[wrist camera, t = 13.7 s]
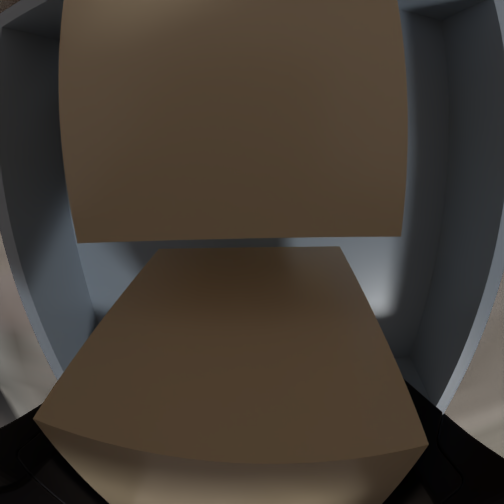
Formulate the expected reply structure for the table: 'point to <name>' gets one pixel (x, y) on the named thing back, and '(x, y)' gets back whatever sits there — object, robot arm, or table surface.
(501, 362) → the table surface
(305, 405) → the stone
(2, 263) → the table surface
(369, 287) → the slate bin
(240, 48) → the tan rectangular block
